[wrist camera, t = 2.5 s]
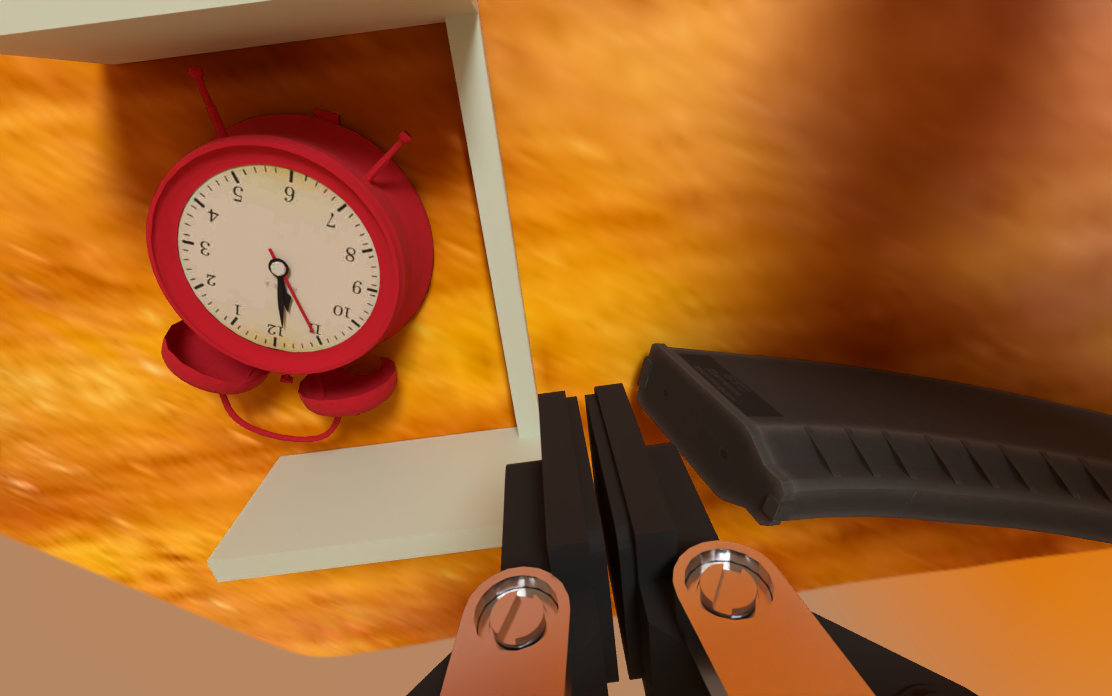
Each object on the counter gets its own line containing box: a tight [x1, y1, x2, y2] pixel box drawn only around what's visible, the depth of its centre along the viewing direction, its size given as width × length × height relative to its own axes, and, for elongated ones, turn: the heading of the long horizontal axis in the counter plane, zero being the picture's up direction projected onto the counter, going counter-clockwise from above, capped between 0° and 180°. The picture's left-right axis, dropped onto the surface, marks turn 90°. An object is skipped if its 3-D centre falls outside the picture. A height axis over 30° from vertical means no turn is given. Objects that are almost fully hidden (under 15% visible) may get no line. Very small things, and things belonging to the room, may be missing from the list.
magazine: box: [637, 343, 1112, 543], centre depth 23 cm, size 17×3×30 cm
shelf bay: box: [0, 0, 542, 582], centre depth 20 cm, size 21×14×7 cm
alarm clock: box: [146, 66, 434, 442], centre depth 22 cm, size 10×6×15 cm
